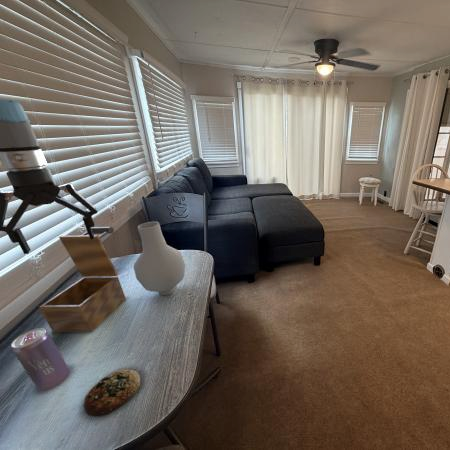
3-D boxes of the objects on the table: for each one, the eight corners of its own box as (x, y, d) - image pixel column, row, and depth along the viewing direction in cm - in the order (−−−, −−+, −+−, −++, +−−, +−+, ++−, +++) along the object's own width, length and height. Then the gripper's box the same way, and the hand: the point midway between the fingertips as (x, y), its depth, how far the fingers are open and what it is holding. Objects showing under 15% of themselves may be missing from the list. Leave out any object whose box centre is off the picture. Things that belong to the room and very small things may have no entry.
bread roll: (76, 429, 51) (70, 410, 49) (96, 386, 61) (91, 370, 59) (137, 407, 55) (133, 389, 54) (147, 370, 65) (143, 355, 63)
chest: (92, 333, 75) (79, 306, 71) (53, 334, 75) (38, 307, 71) (126, 300, 90) (117, 276, 85) (94, 301, 90) (83, 276, 86)
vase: (148, 310, 84) (123, 239, 74) (139, 289, 96) (117, 225, 85) (195, 290, 94) (180, 224, 84) (182, 273, 106) (167, 213, 95)
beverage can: (70, 366, 65) (46, 323, 59) (71, 381, 61) (46, 337, 55) (39, 381, 61) (11, 337, 55) (38, 398, 57) (8, 353, 51)
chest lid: (96, 236, 77) (117, 222, 86) (58, 237, 77) (83, 223, 86) (116, 276, 85) (133, 259, 93) (82, 276, 85) (102, 260, 94)
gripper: (-62, 177, 50) (-10, 265, 58) (90, 164, 64) (116, 236, 72) (-46, 173, 55) (0, 253, 63) (91, 162, 69) (115, 229, 77)
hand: (62, 244), depth 68 cm, fingers open, 13 cm apart
